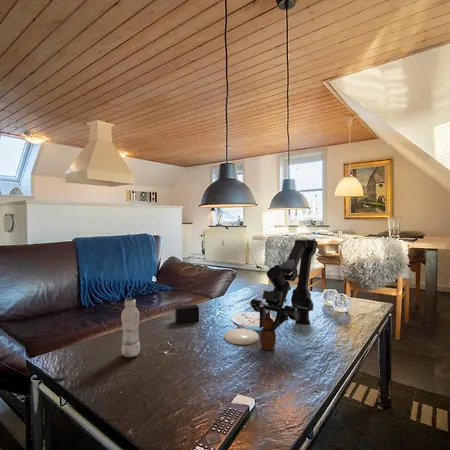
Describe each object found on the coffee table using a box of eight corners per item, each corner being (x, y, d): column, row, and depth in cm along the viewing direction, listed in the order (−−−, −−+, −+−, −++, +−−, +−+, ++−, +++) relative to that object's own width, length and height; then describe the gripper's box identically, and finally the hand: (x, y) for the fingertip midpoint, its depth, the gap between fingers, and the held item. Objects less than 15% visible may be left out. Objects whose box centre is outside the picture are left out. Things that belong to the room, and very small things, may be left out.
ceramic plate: (227, 329, 129) (227, 327, 129) (259, 331, 126) (259, 329, 126) (221, 343, 115) (221, 341, 115) (257, 346, 113) (257, 344, 113)
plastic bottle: (123, 361, 101) (122, 303, 100) (120, 353, 107) (119, 298, 106) (142, 357, 104) (141, 301, 103) (138, 349, 110) (137, 296, 109)
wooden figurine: (275, 353, 107) (275, 312, 106) (259, 351, 108) (259, 311, 108) (275, 344, 114) (276, 306, 113) (260, 343, 115) (260, 305, 114)
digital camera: (196, 317, 144) (195, 303, 143) (199, 321, 139) (199, 306, 138) (174, 320, 140) (174, 306, 140) (177, 324, 135) (177, 309, 134)
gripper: (252, 278, 119) (236, 313, 110) (296, 285, 108) (282, 324, 99) (261, 293, 125) (247, 327, 117) (304, 301, 114) (292, 339, 106)
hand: (266, 329), depth 110 cm, fingers closed on wooden figurine, 5 cm apart
